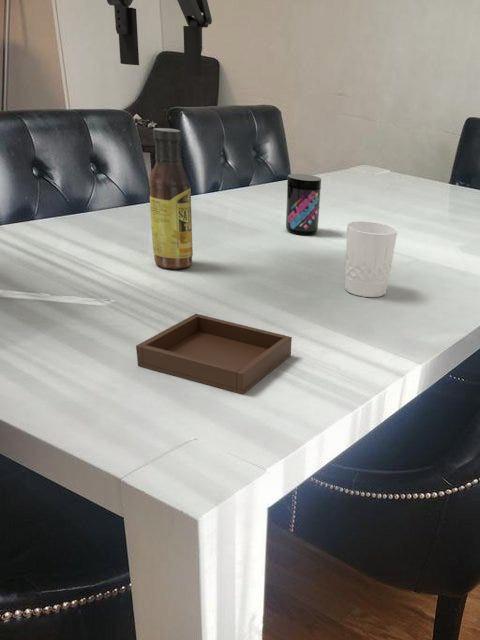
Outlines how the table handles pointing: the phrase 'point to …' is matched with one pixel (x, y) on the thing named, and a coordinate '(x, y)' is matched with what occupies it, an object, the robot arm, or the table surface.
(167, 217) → the sauce bottle
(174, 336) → the tray
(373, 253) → the white cup
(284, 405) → the table surface
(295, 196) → the supplement container
